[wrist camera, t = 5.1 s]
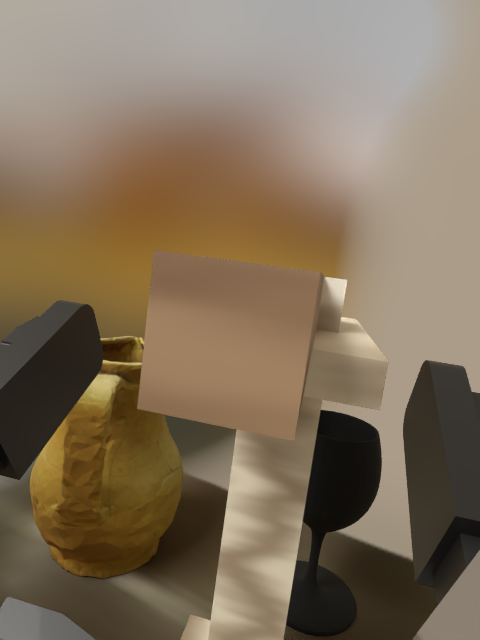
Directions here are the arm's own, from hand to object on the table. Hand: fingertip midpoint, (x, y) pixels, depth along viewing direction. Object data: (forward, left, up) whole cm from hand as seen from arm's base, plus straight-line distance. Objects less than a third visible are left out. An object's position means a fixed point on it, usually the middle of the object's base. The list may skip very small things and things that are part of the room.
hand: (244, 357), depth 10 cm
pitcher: (-20, +33, -33) cm, 51 cm away
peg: (0, +8, -1) cm, 8 cm away
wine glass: (+5, +34, -33) cm, 48 cm away
